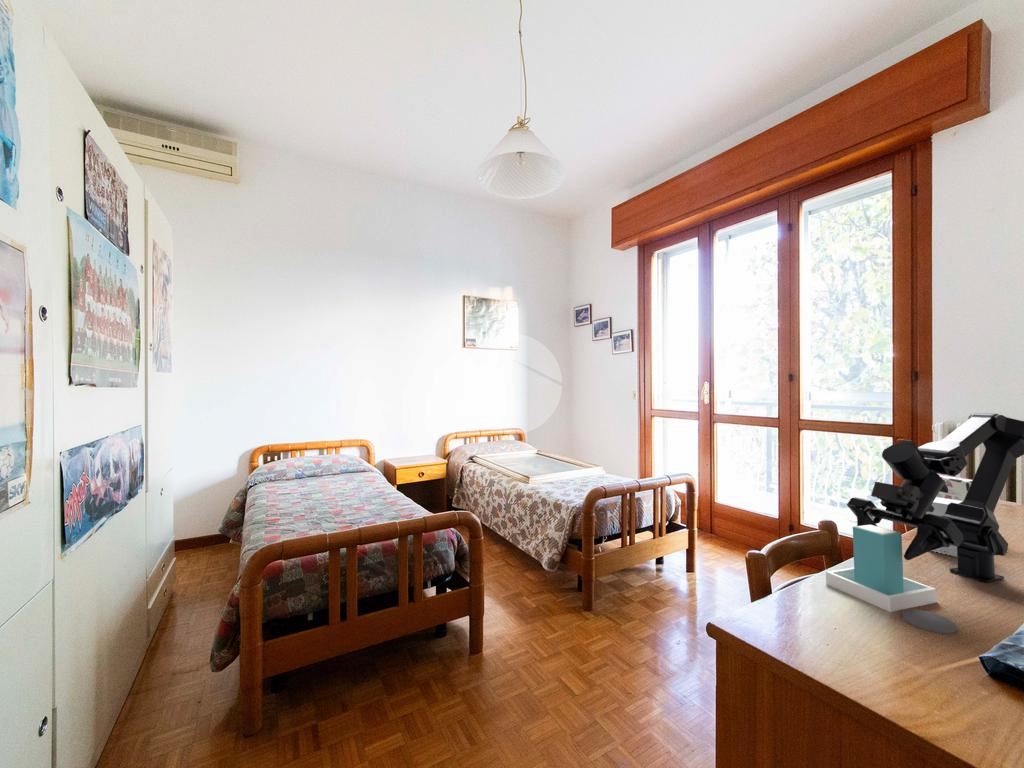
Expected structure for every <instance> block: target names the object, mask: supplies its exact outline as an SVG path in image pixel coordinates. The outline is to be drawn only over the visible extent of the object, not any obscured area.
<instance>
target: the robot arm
mask: <svg viewBox="0 0 1024 768" xmlns="http://www.w3.org/2000/svg"><path fill="white" fill-rule="evenodd" d="M981 444H983V445H984V448H985V450H984V452H983V455H982V457H981V460H980V462H979V464H978V467H977V469H976V471H975V474H974V476H973V478H972V479H971V480H972V482H971V485H970V487H969V489H968V492H967V494H966V496H965V499H964V500H963V502H961V503H959V504H957V503H952V502H951V503H950V504H949V505H948V506H947V510H946V512H945V514H944V515H943V516H937V515H933V514H926V513H927V511H928V512H933V511H934V508H933V506H932V503H933V501H934V500H935V498H936V497H937V495H938V493H939V492H944V493H948V487H947V486H946V484H945V480H942V478H941V477H940V476H939V475H946V476H953V477H957V475H960V473H961V472H962V471H963V470H964V469H965V468H966V467H967V465H968V460H967V458H966V457H967V456H968V455H969V454H971V453H972V452H973V451H974V450H975V449H977V448H978V447H979V446H981ZM1022 456H1024V420H1020V419H1015V418H1012V417H1008V416H1005V415H1002V414H999V413H989V412H988V413H987V412H975V413H972V414H970V415H969V416H968V418H967V420H965V421H964V422H963V423H962V424H960V425H959V426H958V427H956V429H954V430H953V431H952V432H950V433H949V434H948V435H946V436H945V437H944V438H942V439H940V440H936V441H931V442H927V443H925V444H923V445H921V446H918V447H917V444H916V443H915V442H914V441H913V440H909V439H902V440H901V441H900V442H899V443H894V444H892V445H889V446H888V447H886V448H884V449H883V451H882V454H881V458H882V459H883V460H884V461H885V462H886V464H887V465H888V466H889V467H890V468H891V470H892V471H893V472H894V473H895V475H896V476H897V477H898V478H900V479H901V480H903V482H902V483H901V484H900V486H899V485H897V484H891V483H885V482H879V481H874V485H873V488H872V491H871V494H870V496H871V497H873V498H877V499H878V500H880V502H879V503H880V504H881V507H885V509H882V508H878V507H877V505H875V504H874V502H873V501H872V500H870V499H864V498H860V497H856V496H855V497H851V498H850V499H849V500H848V502H847V503H846V506H847V507H848V508H849V509H850V511H851V512H852V513H853V515H855V517H856V523H857V525H856V526H861V525H869V524H871V525H874V526H878V525H877V524H879V523H881V521H882V520H886V521H889V522H890V521H891V522H895V523H898V524H901V525H905V526H909V527H913V528H916V534H915V536H914V537H913V539H912V540H911V542H910V543H909V545H908V546H907V549H906V551H905V552H904V554H903V558H904V560H906V561H911V560H913V559H915V558H917V557H921V556H922V555H924V554H926V553H929V552H932V550H935V549H938V548H941V547H947V548H948V547H949V546H950V545H953V546H956V547H957V557H956V563H957V564H956V565H957V567H952V568H949V572H951V573H954V574H958V575H961V576H964V577H966V578H969V579H973V580H976V581H979V582H983V583H990V582H995V581H1000V580H1004V579H1005V576H1003V575H1000V574H997V573H996V570H995V569H996V568H995V566H996V565H995V556H1002V557H1003V556H1006V554H1007V553H1008V550H1009V543H1008V542H1007V540H1006V539H1005V537H1003V535H1002V534H1001V533H1000V532H999V529H1000V525H999V524H1000V523H999V522H998V520H997V518H996V516H995V513H994V512H995V510H996V506H997V505H998V502H999V499H1000V498H1001V495H1002V492H1003V490H1004V488H1005V485H1006V483H1007V480H1008V478H1009V476H1010V473H1011V471H1012V468H1013V467H1014V464H1015V462H1016V460H1017V459H1018V458H1020V457H1022Z"/></svg>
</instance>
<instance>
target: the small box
mask: <svg viewBox="0 0 1024 768" xmlns="http://www.w3.org/2000/svg"><path fill="white" fill-rule="evenodd" d="M951 502H952V503H957V504H959V503H961V502H963V501H959V500H952V499H946V498H939V497H936V498H935V500H934V501H933V503H932V506H933V508H934V511H933V512H928V511H927V513H926V514H933V515H937V516H943V515H944V514H945V512H946V510H947V506H948V505H949V504H950V503H951ZM932 551H934V552H933V553H936V552H938V554H941V553H942V555H945V554H947V555H946V556H950V555H951V557H954V558H957V547H956V546H953V545H950V546H949V547H948V548H947V547H941V548H938V549H935V550H932ZM932 551H931V552H932Z"/></svg>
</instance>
